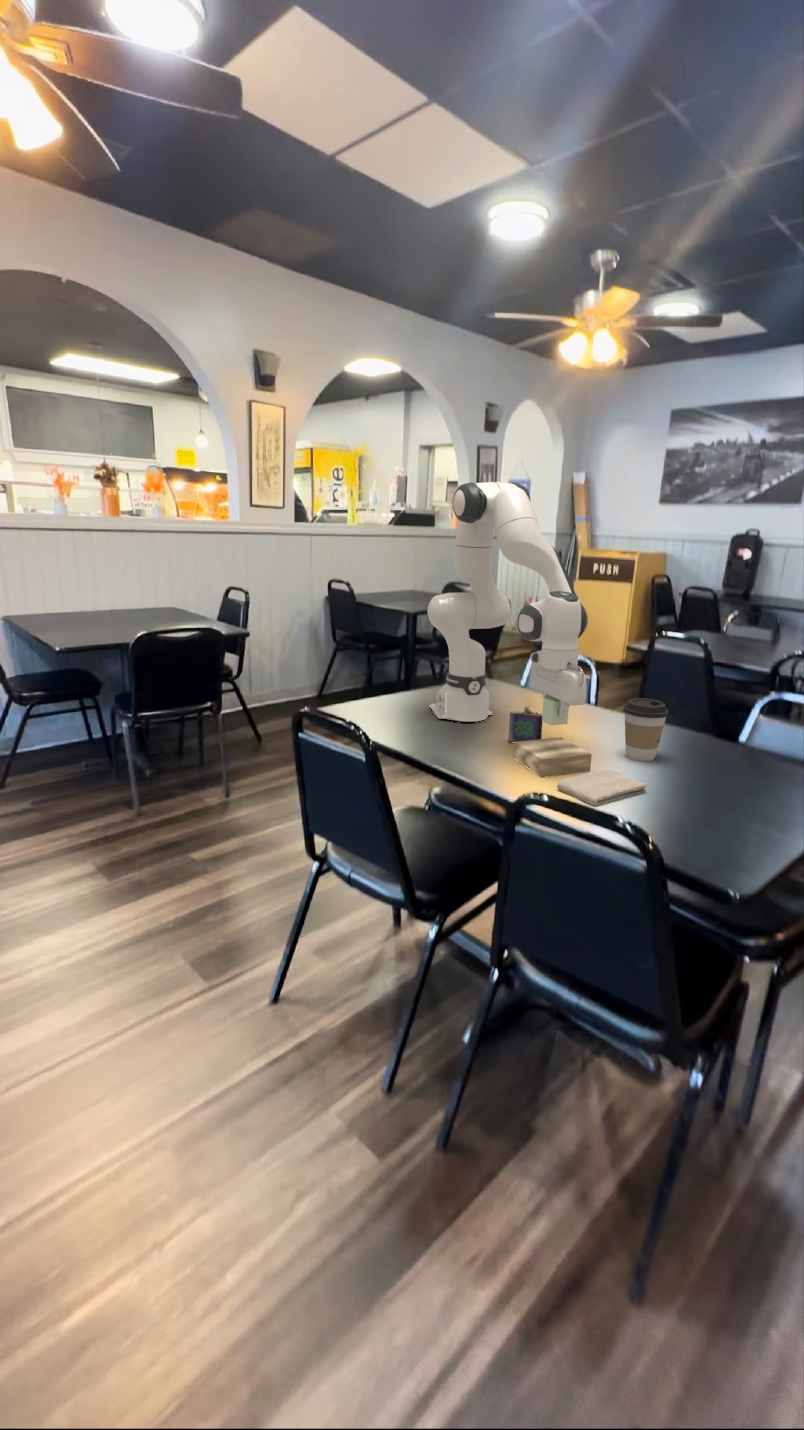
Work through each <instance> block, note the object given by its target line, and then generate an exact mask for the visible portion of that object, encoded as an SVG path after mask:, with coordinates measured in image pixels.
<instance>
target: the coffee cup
mask: <svg viewBox="0 0 804 1430" xmlns="http://www.w3.org/2000/svg"><path fill="white" fill-rule="evenodd" d="M666 707H667V706H666V703H665V702H663V701H660V700H658V699H653V698H645V697H644V698H642V697H639V698H637V697H636V698H631V699H629V700H628V701H627V704H625V705H623V708H622V712H623V713H624V734H625V735H624V736H625V737H624V738H625V754H626V755H625V756H626V757H627V758H628V759H630V760H632V761H635V762H636V761H637V762H642V763H643V762H645V763H647V762H653V761H654V760H655V758H656V756H657V751H658V748H659V744H660V741H661V737H662V733H663V730H664V725H665V722H666V719H667V717H668V716H669V715H670V714H669V709H668V708H666Z"/></svg>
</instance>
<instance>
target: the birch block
mask: <svg viewBox="0 0 804 1430" xmlns="http://www.w3.org/2000/svg"><path fill="white" fill-rule="evenodd" d="M592 756H593V754H592V753H591V752H590V751H588V750H587V749H586V750H585V749H584V748H582V747H580V746H578V745H576V744H574V743H573V742H570V741H569V740H567V739H565V738H563V737H561V736H560V737H559V736H558V737H550V738H549V737H548V738H541V739H538V740H528V741H518V742H514V744H513V757H514V758H515V759H517V760H518V761H519V762H521V763H522V764H523V765H525V766H527V767H528V768H530V769H531V770H532V771H534V772H535V773H536V774H538V775H539V776H540V777H539V776H538V775H537V776H538V777H539V778H546V777H545V776H548V777H555V776H564V775H571V774H579V773H581V774H582V773H589V772H590V771H591V766H592V765H591V764H592ZM519 762H518V763H519ZM522 764H521V765H522ZM523 765H522V766H523ZM525 766H524V767H525ZM528 768H527V769H528ZM531 770H530V771H531ZM532 771H531V772H532ZM535 773H534V774H535ZM536 774H535V775H536Z"/></svg>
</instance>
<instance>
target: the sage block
mask: <svg viewBox="0 0 804 1430" xmlns="http://www.w3.org/2000/svg"><path fill="white" fill-rule="evenodd" d="M542 700H543V701H542V702H543V703H542V712H541V713H542V714H541V715H542V723H543V722H544V723H546V724H547V725H549V726H561V725H562V726H563V725H568V719H569V710H568V711H567V716H566V718H560V717H558V716H557V714H558V713H557V711H558V710H560V707H561V704H560V700H558V699H556V698H554V697H546V698H544V699H543V698H542Z"/></svg>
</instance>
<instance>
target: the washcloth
mask: <svg viewBox="0 0 804 1430" xmlns="http://www.w3.org/2000/svg"><path fill="white" fill-rule="evenodd" d="M556 787H557V789H558V790H559V791H560V792H562V791H563V793H565V794H567V795H569V796H572V797H574V798H576V797H577V798H576V799H578V800H580V801H581V800H583V801H582V802H584V801H585V802H584V803H586V802H587V803H586V804H588V803H590V804H591V806H593V805H596V806H595V807H598V806H601V805H605V804H608V803H612V802H616V801H620V800H622V799H626V798H628V797H629V798H630V797H633V796H637V795H640V794H645V793H647V790H646V789H645V788H647V785H646V783H644V782H643V781H640V780H635V779H632V778H629V777H627V776H625V775H624V774H622V773H620V772H617V771H615V770H614V771H613V770H612V769H605V770H600V771H596V770H590V772H585V773H581V774H578V775H575V776H572V777H567V778H563V779H562V780H560V781H559V782H558V783H557V786H556ZM590 804H589V805H590Z"/></svg>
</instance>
